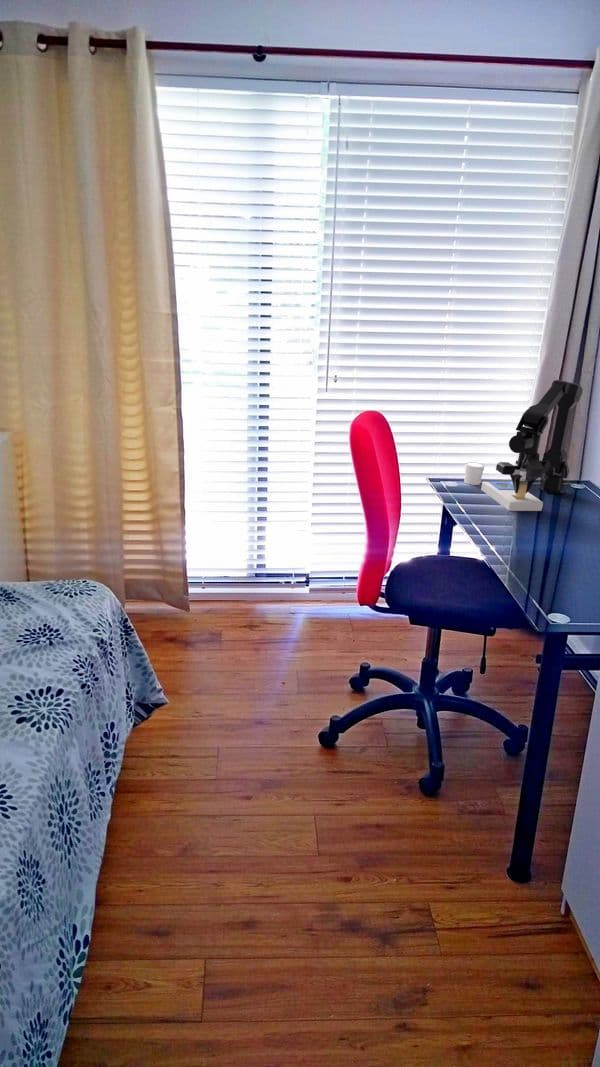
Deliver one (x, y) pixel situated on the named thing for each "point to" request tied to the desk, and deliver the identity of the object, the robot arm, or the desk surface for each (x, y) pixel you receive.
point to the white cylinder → (473, 473)
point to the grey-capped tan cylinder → (521, 489)
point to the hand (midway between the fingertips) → (520, 493)
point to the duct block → (511, 497)
